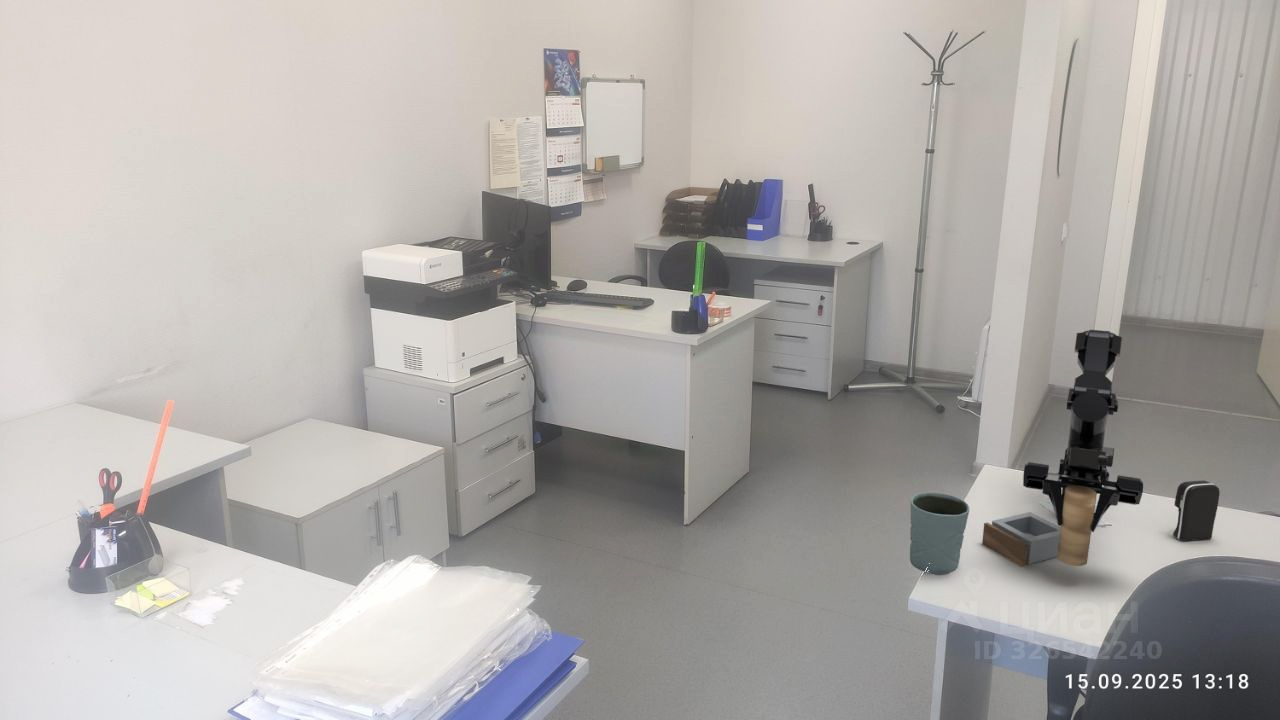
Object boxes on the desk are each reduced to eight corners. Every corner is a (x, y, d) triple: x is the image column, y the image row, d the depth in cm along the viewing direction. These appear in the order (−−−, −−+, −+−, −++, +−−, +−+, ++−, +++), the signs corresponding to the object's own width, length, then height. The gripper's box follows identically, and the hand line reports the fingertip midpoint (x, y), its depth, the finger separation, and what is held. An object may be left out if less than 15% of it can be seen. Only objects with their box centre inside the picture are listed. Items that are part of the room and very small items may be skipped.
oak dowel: (1070, 550, 159) (1079, 483, 156) (1093, 562, 155) (1102, 493, 151) (1050, 555, 157) (1059, 488, 154) (1073, 568, 153) (1082, 498, 150)
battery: (1198, 530, 175) (1207, 477, 172) (1213, 539, 172) (1222, 484, 169) (1166, 533, 174) (1174, 479, 171) (1180, 542, 171) (1189, 487, 168)
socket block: (1027, 532, 175) (1030, 511, 174) (1067, 553, 167) (1070, 532, 165) (990, 542, 172) (992, 520, 170) (1028, 564, 163) (1031, 541, 162)
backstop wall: (985, 543, 171) (987, 522, 170) (1025, 566, 162) (1027, 544, 161) (982, 544, 171) (984, 523, 170) (1022, 567, 162) (1024, 545, 161)
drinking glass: (895, 556, 167) (899, 497, 164) (937, 545, 171) (941, 488, 168) (932, 581, 158) (937, 519, 155) (976, 569, 162) (981, 508, 159)
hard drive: (1038, 501, 188) (1075, 526, 176) (1074, 498, 189) (1112, 523, 178) (1037, 508, 189) (1074, 534, 177) (1073, 505, 190) (1111, 530, 178)
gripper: (1029, 419, 157) (1018, 500, 151) (1150, 435, 149) (1143, 521, 143) (1028, 446, 166) (1017, 524, 160) (1142, 462, 158) (1135, 545, 152)
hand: (1076, 528), depth 153 cm, fingers closed on oak dowel, 5 cm apart
